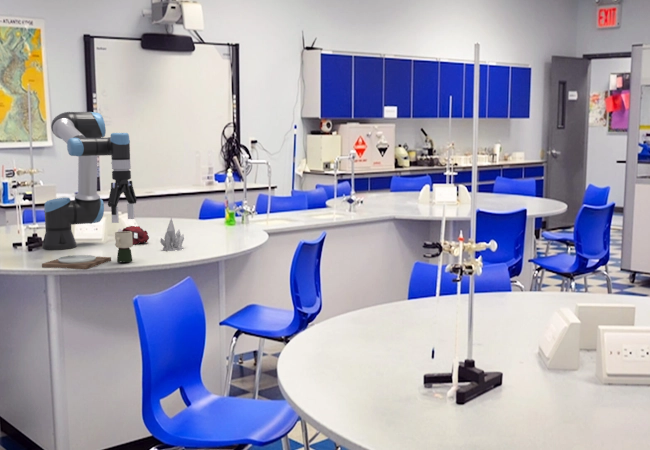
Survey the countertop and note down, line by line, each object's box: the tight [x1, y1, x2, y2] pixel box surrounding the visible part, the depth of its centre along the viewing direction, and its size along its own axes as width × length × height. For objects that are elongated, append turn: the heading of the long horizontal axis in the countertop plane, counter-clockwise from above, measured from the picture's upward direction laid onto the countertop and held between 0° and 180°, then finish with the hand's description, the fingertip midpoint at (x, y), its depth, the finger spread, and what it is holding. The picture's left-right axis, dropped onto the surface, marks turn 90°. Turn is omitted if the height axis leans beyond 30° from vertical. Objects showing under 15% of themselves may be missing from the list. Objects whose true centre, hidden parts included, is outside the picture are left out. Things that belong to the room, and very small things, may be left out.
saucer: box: [57, 254, 97, 264], centre depth 313 cm, size 15×15×1 cm
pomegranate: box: [117, 225, 150, 245], centre depth 367 cm, size 15×13×9 cm
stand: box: [41, 256, 112, 270], centre depth 313 cm, size 20×20×2 cm
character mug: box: [114, 231, 134, 264], centre depth 315 cm, size 11×7×13 cm, turn 163°
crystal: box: [159, 217, 185, 252], centre depth 350 cm, size 10×13×15 cm
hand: (123, 220), depth 313 cm, fingers open, 13 cm apart
